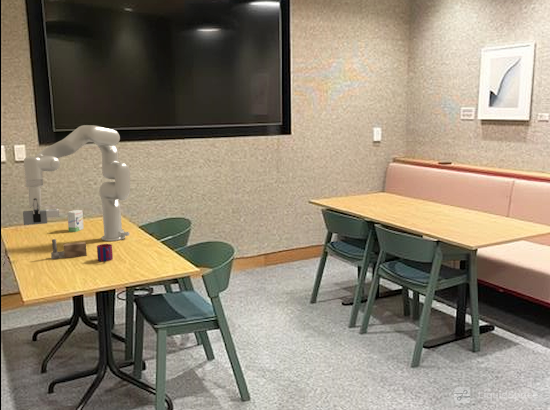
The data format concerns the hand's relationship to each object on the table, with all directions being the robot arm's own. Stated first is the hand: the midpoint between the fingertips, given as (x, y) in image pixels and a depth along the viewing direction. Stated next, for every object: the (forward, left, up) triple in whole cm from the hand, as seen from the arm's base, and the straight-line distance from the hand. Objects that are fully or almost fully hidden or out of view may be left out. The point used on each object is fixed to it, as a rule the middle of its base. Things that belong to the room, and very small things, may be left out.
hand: (37, 221), depth 249 cm
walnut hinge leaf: (-13, -1, -18) cm, 22 cm away
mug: (-34, +5, -18) cm, 39 cm away
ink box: (+8, -60, -18) cm, 63 cm away
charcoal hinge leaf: (-2, -1, -1) cm, 2 cm away
